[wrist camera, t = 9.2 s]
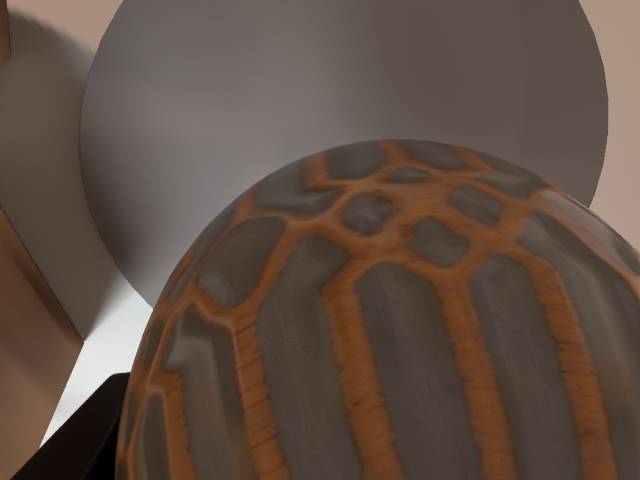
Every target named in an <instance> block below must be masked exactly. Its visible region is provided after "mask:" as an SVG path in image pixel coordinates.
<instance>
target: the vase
mask: <svg viewBox="0 0 640 480" xmlns="http://www.w3.org/2000/svg"><path fill="white" fill-rule="evenodd" d="M115 480H640V253H639V252H638V251H637V250H636V249H635V248H634V247H633V246H632V245H630V244H629V243H628V242H627V241H626V240H625V239H624V238H623V237H622V236H621V235H619V234H618V233H617V232H616V231H615V230H614V229H613V228H611V227H610V226H609V225H608V224H607V223H606V222H605V221H603V220H602V219H601V218H600V217H599V216H598V215H597V214H595V213H594V212H592V211H591V210H590V209H588V208H587V207H586V206H584V205H583V204H581V203H580V202H579V201H577V200H576V199H575V198H573V197H572V196H570V195H569V194H568V193H566V192H565V191H563V190H562V189H561V188H559V187H558V186H556V185H555V184H553V183H551V182H549V181H548V180H546V179H544V178H543V177H541V176H539V175H537V174H535V173H532V172H530V171H528V170H526V169H524V168H522V167H519V166H517V165H515V164H512V163H510V162H508V161H506V160H503V159H501V158H498V157H495V156H492V155H490V154H487V153H484V152H480V151H477V150H473V149H469V148H465V147H460V146H456V145H451V144H445V143H440V142H434V141H426V140H416V139H384V140H372V141H364V142H357V143H352V144H347V145H342V146H338V147H334V148H331V149H327V150H323V151H320V152H317V153H315V154H312V155H309V156H306V157H303V158H301V159H299V160H297V161H295V162H292V163H290V164H288V165H286V166H284V167H282V168H280V169H278V170H276V171H275V172H273V173H271V174H269V175H268V176H266V177H264V178H263V179H261V180H260V181H258V182H257V183H255V184H254V185H252V186H251V187H250V188H249V189H247V190H246V191H245V192H243V193H242V194H241V195H240V196H238V197H237V198H236V199H235V200H234V201H233V202H232V203H230V204H229V205H228V206H227V207H226V208H225V209H224V210H223V211H222V212H220V213H219V214H218V215H217V216H216V217H215V218H214V219H213V220H212V221H211V222H210V223H209V224H208V225H207V227H206V228H205V229H204V230H203V231H202V232H201V234H200V235H199V236H198V237H197V239H196V240H195V241H194V242H193V244H192V245H191V246H190V248H189V249H188V250H187V252H186V253H185V254H184V256H183V257H182V258H181V260H180V261H179V263H178V264H177V266H176V267H175V269H174V270H173V272H172V273H171V275H170V277H169V279H168V280H167V282H166V284H165V286H164V288H163V290H162V292H161V294H160V296H159V298H158V301H157V303H156V305H155V307H154V309H153V312H152V314H151V316H150V319H149V321H148V323H147V326H146V328H145V331H144V333H143V336H142V339H141V342H140V345H139V348H138V351H137V354H136V357H135V359H134V363H133V366H132V370H131V373H130V376H129V380H128V384H127V389H126V393H125V397H124V401H123V405H122V410H121V416H120V421H119V428H118V438H117V448H116V458H115Z"/></svg>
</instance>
